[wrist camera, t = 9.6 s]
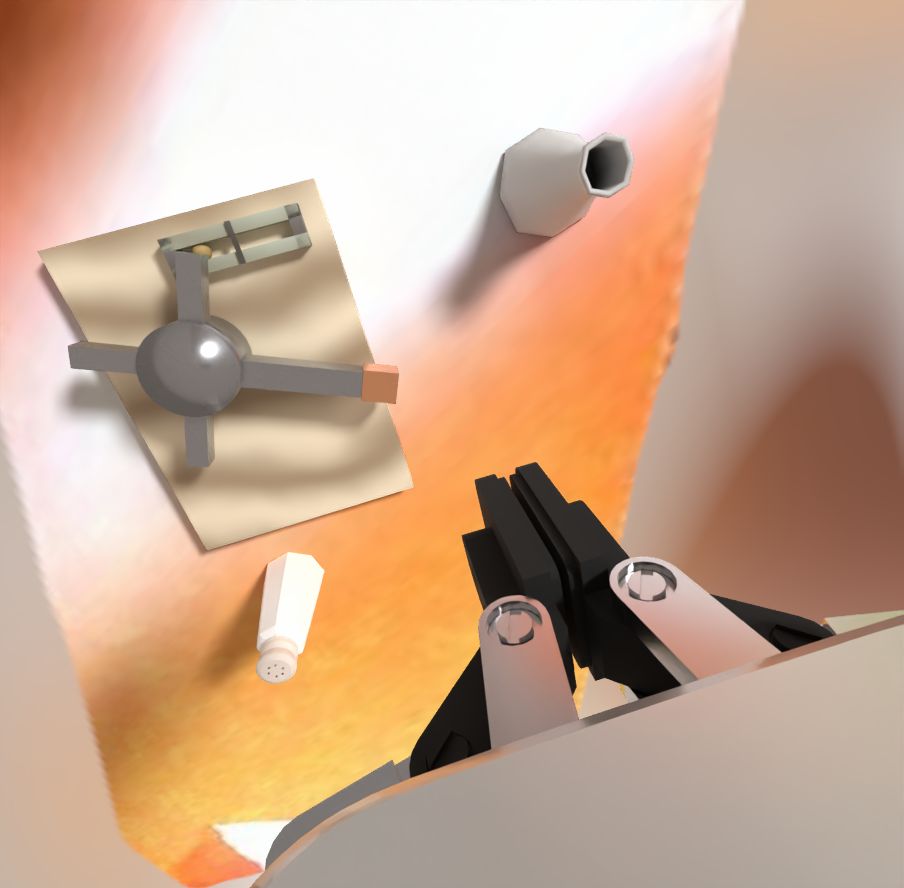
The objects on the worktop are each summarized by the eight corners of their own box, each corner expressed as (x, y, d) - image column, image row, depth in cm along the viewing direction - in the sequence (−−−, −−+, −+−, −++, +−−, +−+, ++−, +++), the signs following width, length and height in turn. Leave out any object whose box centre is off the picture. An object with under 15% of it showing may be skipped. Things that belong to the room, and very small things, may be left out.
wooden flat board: (52, 251, 32) (23, 251, 29) (315, 181, 33) (311, 175, 31) (212, 540, 42) (202, 560, 39) (412, 478, 43) (415, 494, 40)
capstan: (108, 441, 36) (76, 466, 32) (84, 235, 31) (42, 234, 27) (385, 458, 40) (388, 482, 36) (403, 280, 35) (409, 285, 31)
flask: (506, 247, 37) (553, 249, 28) (489, 139, 34) (536, 102, 25) (595, 226, 38) (670, 221, 29) (586, 118, 35) (666, 73, 26)
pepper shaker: (252, 583, 44) (220, 682, 34) (284, 540, 43) (262, 630, 33) (303, 607, 46) (288, 708, 36) (336, 567, 45) (329, 659, 35)
